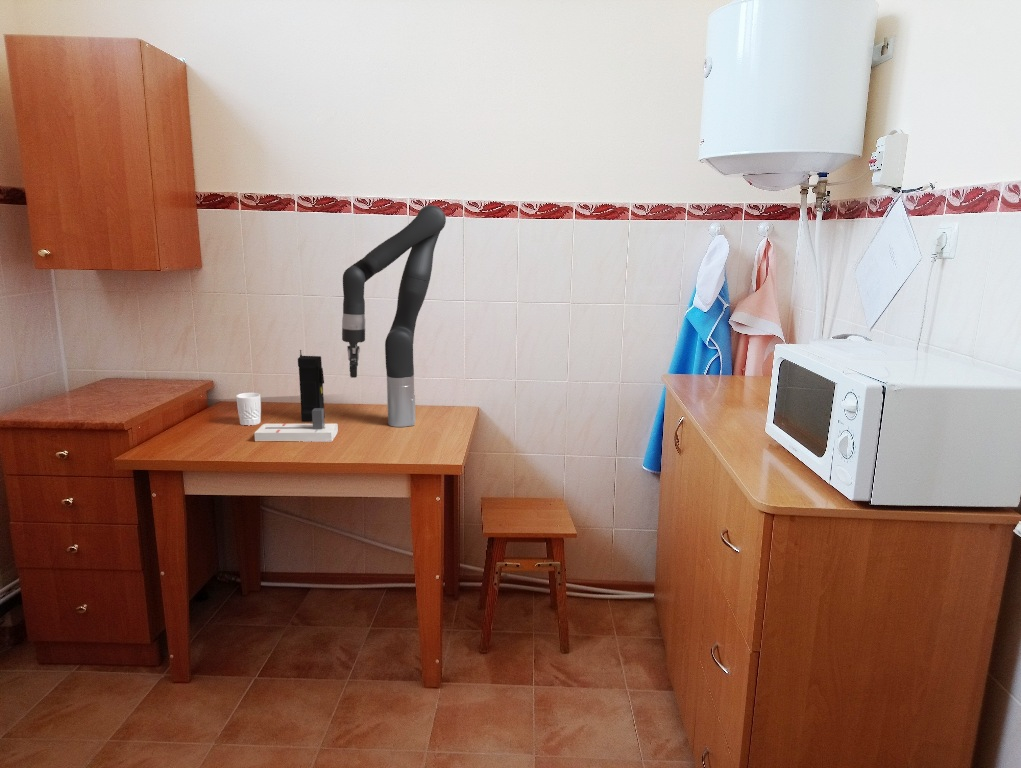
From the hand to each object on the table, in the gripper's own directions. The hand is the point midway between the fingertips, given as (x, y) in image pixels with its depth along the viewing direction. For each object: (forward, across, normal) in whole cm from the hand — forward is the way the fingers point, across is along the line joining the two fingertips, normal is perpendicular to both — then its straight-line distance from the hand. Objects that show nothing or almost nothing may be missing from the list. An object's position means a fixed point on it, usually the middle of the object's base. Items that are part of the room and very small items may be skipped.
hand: (353, 374), depth 233 cm
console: (+19, -9, +18) cm, 27 cm away
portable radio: (+19, +10, +13) cm, 25 cm away
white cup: (+20, +10, +34) cm, 41 cm away
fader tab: (+15, -11, +11) cm, 22 cm away
